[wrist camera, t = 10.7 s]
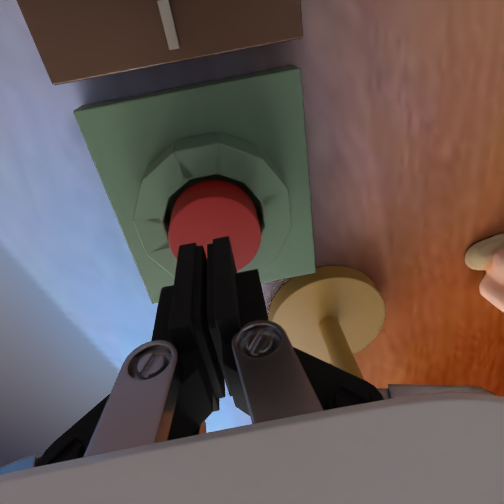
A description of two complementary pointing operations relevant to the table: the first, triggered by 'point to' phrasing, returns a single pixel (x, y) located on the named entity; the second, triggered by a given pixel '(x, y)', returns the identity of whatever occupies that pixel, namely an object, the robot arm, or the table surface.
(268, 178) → the switch base
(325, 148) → the table surface
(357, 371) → the desk lamp
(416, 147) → the table surface
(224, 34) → the dimmer panel
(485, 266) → the grandmother figurine
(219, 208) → the lamp switch
